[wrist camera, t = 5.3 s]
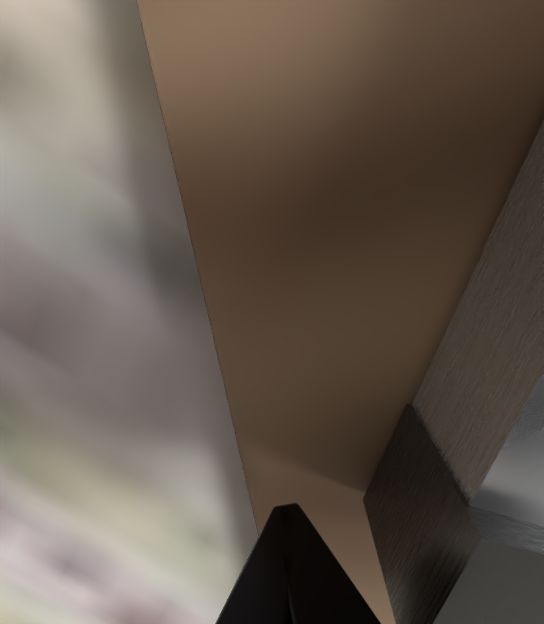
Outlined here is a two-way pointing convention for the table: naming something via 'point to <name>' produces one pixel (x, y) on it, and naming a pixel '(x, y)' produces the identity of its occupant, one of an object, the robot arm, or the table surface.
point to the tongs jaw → (475, 443)
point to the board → (339, 216)
